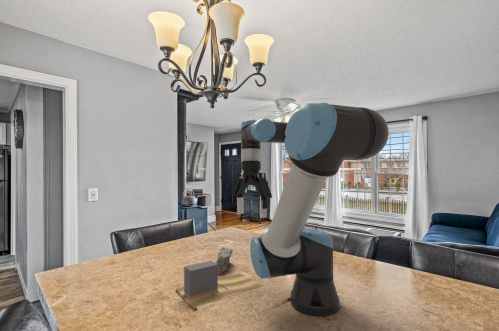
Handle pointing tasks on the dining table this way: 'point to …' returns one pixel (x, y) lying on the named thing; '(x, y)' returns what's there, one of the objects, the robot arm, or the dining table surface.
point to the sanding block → (200, 279)
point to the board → (221, 289)
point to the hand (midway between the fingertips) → (251, 215)
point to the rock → (223, 259)
